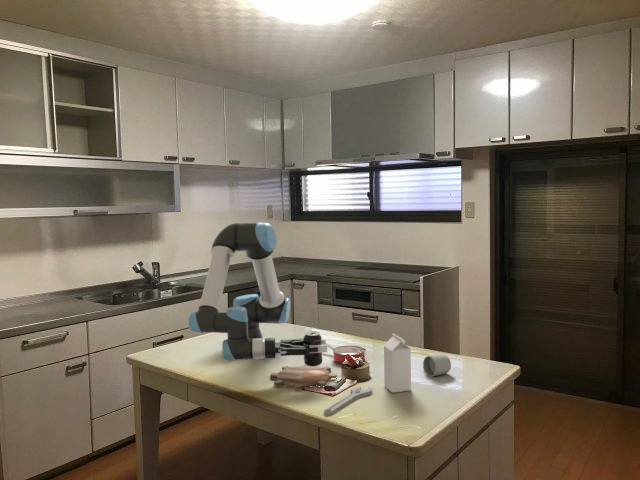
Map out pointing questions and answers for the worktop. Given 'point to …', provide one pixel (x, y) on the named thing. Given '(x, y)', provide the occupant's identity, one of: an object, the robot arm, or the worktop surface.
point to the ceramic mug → (436, 365)
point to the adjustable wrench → (348, 399)
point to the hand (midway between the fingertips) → (326, 345)
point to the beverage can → (312, 339)
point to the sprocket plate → (302, 377)
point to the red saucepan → (346, 352)
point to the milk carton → (397, 365)
